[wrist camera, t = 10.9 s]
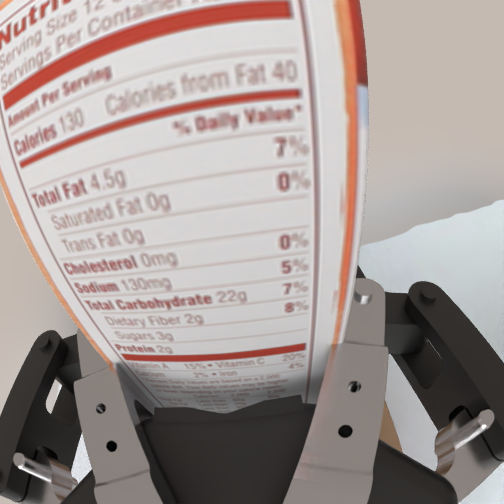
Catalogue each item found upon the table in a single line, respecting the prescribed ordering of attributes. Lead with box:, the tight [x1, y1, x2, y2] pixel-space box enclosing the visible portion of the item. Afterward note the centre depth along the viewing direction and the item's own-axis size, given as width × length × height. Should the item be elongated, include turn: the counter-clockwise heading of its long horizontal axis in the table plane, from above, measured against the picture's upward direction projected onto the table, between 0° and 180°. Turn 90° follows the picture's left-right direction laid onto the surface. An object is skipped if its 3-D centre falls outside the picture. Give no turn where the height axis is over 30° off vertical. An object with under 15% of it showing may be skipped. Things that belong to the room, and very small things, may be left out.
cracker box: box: [0, 0, 369, 413], centre depth 12 cm, size 14×6×21 cm, turn 2°
